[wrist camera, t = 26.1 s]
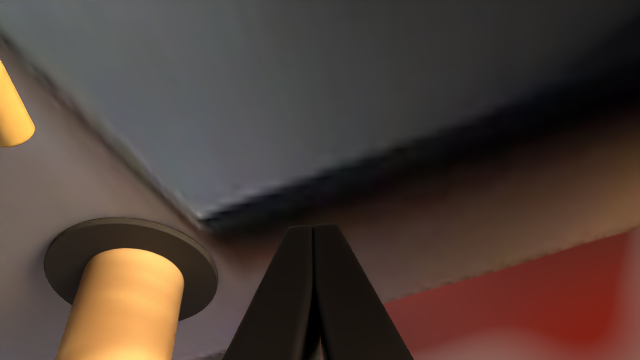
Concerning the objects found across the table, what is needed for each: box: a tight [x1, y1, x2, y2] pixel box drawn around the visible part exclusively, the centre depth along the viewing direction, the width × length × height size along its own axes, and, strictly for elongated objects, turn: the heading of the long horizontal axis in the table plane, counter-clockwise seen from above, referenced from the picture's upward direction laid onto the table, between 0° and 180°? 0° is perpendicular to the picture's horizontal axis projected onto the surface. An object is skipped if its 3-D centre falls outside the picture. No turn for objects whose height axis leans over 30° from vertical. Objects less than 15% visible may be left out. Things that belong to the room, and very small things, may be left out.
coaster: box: [44, 218, 218, 321], centre depth 31 cm, size 9×9×1 cm
